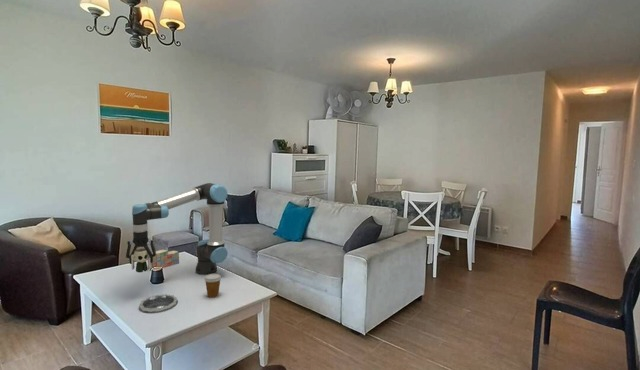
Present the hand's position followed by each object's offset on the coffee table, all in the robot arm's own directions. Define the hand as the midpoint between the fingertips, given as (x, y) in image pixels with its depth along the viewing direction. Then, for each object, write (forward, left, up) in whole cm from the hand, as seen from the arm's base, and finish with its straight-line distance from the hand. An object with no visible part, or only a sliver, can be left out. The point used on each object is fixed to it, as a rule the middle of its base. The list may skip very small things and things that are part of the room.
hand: (141, 268), depth 201 cm
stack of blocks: (-2, -53, -18) cm, 56 cm away
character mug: (0, 0, -2) cm, 2 cm away
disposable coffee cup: (-40, +7, -18) cm, 45 cm away
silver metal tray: (-11, +14, -17) cm, 25 cm away
